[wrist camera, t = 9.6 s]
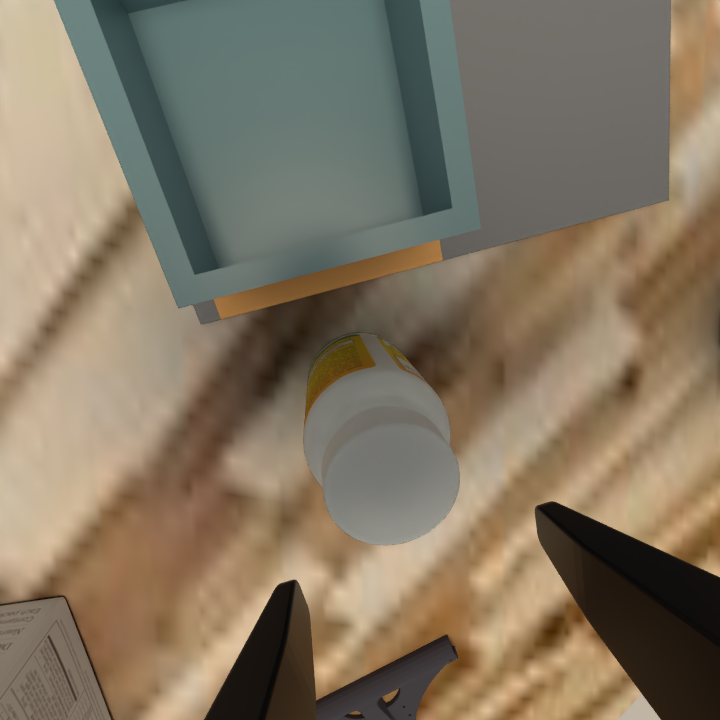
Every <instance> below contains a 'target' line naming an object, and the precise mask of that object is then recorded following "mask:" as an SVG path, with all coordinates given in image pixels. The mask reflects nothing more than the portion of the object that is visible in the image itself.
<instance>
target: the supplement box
mask: <svg viewBox="0 0 720 720" xmlns="http://www.w3.org/2000/svg"><path fill="white" fill-rule="evenodd" d="M0 720H111V717H110V715H109V712H108V710H107V707H106V704H105V702H104V699H103V696H102V694H101V691H100V689H99V686H98V683H97V681H96V678H95V675H94V673H93V670H92V667H91V665H90V662H89V660H88V657H87V654H86V652H85V649H84V646H83V644H82V641H81V639H80V636H79V634H78V631H77V628H76V626H75V623H74V621H73V618H72V615H71V613H70V610H69V608H68V605H67V602H66V600H65V598H63V597H58V598H51V599H44V600H37V601H31V602H24V603H17V604H10V605H3V606H0Z"/></svg>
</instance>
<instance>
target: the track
mask: <svg viewBox="0 0 720 720" xmlns="http://www.w3.org/2000/svg"><path fill="white" fill-rule="evenodd" d="M450 7H451V14H452V21H453V29H454V36H455V43H456V50H457V58H458V65H459V72H460V79H461V87H462V94H463V101H464V108H465V116H466V123H467V130H468V137H469V145H470V152H471V159H472V166H473V174H474V181H475V188H476V195H477V203H478V210H479V217H480V224H481V229H478V230H474V231H470V232H467V233H463V234H459V235H455V236H451V237H448V238H444V239H440V240H436V241H432V242H429V243H425V244H421V245H417V246H413V247H410V248H406V249H402V250H398V251H394V252H391V253H387V254H383V255H379V256H375V257H372V258H368V259H364V260H360V261H356V262H353V263H349V264H345V265H341V266H337V267H334V268H330V269H326V270H322V271H318V272H315V273H311V274H307V275H303V276H299V277H296V278H292V279H288V280H284V281H280V282H276V283H273V284H269V285H265V286H261V287H257V288H254V289H250V290H246V291H242V292H238V293H235V294H231V295H227V296H223V297H219V298H216V299H212V300H208V301H204V302H200V303H197V304H193V306H194V308H195V311H196V313H197V316H198V319H199V321H200V324H205V323H209V322H213V321H216V320H220V319H225V318H228V317H232V316H236V315H240V314H243V313H247V312H251V311H255V310H258V309H262V308H266V307H270V306H273V305H277V304H281V303H285V302H289V301H292V300H296V299H300V298H304V297H307V296H311V295H315V294H319V293H322V292H326V291H330V290H334V289H337V288H341V287H345V286H349V285H352V284H356V283H360V282H364V281H367V280H371V279H375V278H379V277H382V276H386V275H390V274H394V273H398V272H401V271H405V270H409V269H413V268H416V267H420V266H424V265H428V264H431V263H435V262H439V261H443V260H446V259H449V258H453V257H457V256H461V255H464V254H468V253H472V252H476V251H479V250H483V249H487V248H491V247H495V246H498V245H502V244H506V243H510V242H513V241H517V240H521V239H525V238H528V237H532V236H536V235H540V234H543V233H547V232H551V231H555V230H558V229H562V228H566V227H570V226H573V225H577V224H581V223H585V222H588V221H592V220H596V219H600V218H604V217H607V216H611V215H615V214H619V213H622V212H626V211H630V210H634V209H637V208H641V207H645V206H649V205H652V204H656V203H660V202H664V201H667V200H669V126H670V31H671V0H450Z"/></svg>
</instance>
